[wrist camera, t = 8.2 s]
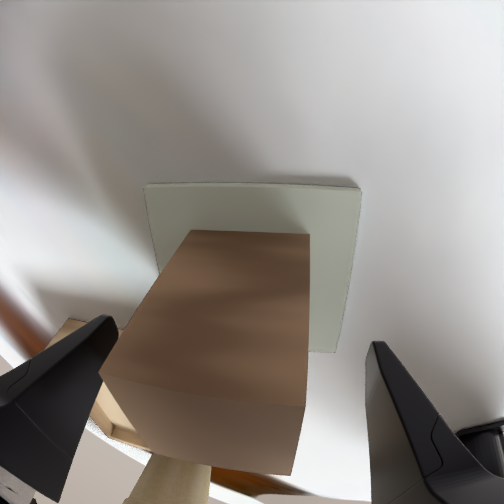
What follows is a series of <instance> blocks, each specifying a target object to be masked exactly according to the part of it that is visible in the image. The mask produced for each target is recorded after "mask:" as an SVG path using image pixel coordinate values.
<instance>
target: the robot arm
mask: <svg viewBox="0 0 504 504" xmlns="http://www.w3.org/2000/svg"><path fill="white" fill-rule="evenodd" d="M118 338H119V332H118V329H117V326H116V324H115V321H114V319H113V317H112V316H109V315H104V314H103V315H100V316H98V317H97V318H95V319H93V320H92V321H90V322H89V323H87V324H85V325H84V326H82V327H80V328H79V329H77V330H76V331H74V332H72V333H71V334H69V335H67V336H66V337H64V338H63V339H61V340H59V341H58V342H56V343H55V344H53V345H51V346H50V347H48V348H47V349H45V350H43V351H42V352H40V353H39V354H37V355H35V356H34V357H32V359H29V360H27V361H26V362H24V363H23V364H21V365H19V366H18V367H16V368H15V369H13V370H11V371H9V372H7V373H6V374H4V375H2V376H0V504H37V503H36V500H35V499H34V498H33V496H34V494H35V492H36V491H38V492H40V493H41V494H43V495H44V496H46V497H48V498H50V499H51V500H53V501H55V502H57V503H58V502H59V500H60V498H61V494H62V491H63V488H64V485H65V482H66V479H67V476H68V472H69V470H70V467H71V464H72V461H73V458H74V455H75V452H76V449H77V447H78V444H79V441H80V439H81V436H82V433H83V431H84V428H85V425H86V423H87V420H88V418H89V415H90V413H91V410H92V408H93V405H94V403H95V400H96V398H97V395H98V393H99V391H100V388H101V386H102V383H103V380H102V378H101V376H100V375H99V373H98V372H99V370H100V368H101V367H102V365H103V363H104V362H105V360H106V358H107V357H108V355H109V353H110V352H111V350H112V348H113V347H114V345H115V344H116V342H117V340H118ZM365 406H366V418H367V429H368V441H369V455H370V472H371V500H372V504H504V434H503V432H504V421H503V422H499V423H495V424H491V425H487V426H482V427H478V428H473V429H468V430H463V431H460V432H458V433H457V434H456V435H455V434H454V433H453V432H452V430H451V429H450V428H449V426H448V425H447V424H446V423H445V421H444V420H443V418H442V417H441V416H440V415H439V413H438V412H437V410H436V409H435V407H434V406H433V405H432V403H431V402H430V401H429V399H428V398H427V397H426V395H425V394H424V392H423V391H422V390H421V388H420V387H419V386H418V384H417V383H416V382H415V380H414V379H413V378H412V376H411V375H410V374H409V373H408V371H407V370H406V369H405V367H404V366H403V365H402V363H401V362H400V361H399V359H398V358H397V357H396V356H395V354H394V353H393V352H392V350H391V349H390V348H389V347H388V345H387V344H386V343H385V342H384V341H372V343H371V344H370V348H369V351H368V354H367V357H366V363H365Z"/></svg>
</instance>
